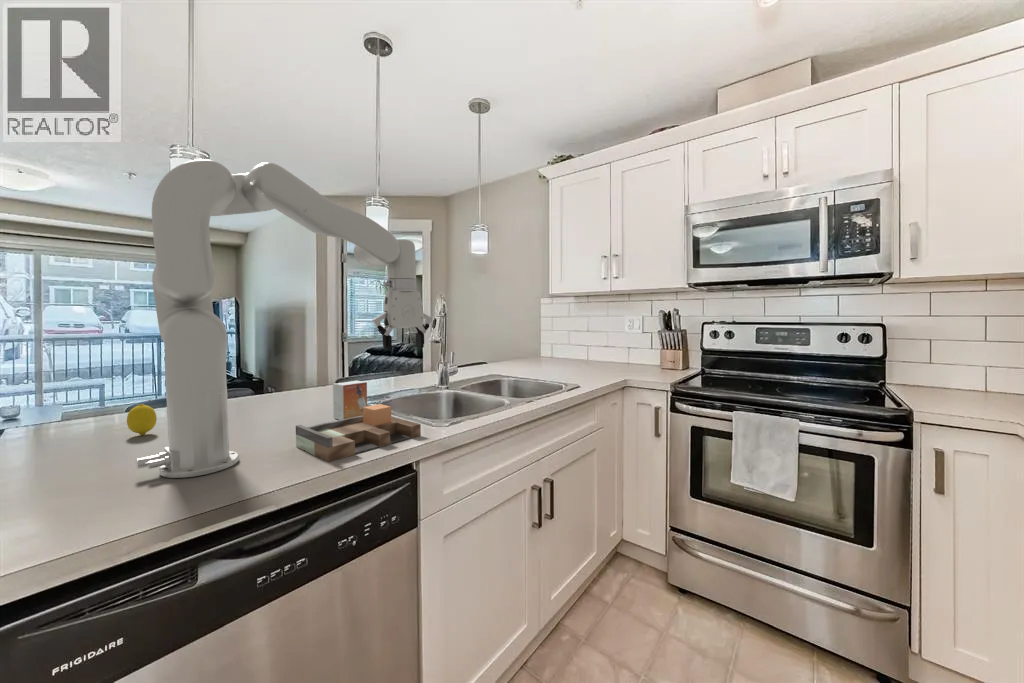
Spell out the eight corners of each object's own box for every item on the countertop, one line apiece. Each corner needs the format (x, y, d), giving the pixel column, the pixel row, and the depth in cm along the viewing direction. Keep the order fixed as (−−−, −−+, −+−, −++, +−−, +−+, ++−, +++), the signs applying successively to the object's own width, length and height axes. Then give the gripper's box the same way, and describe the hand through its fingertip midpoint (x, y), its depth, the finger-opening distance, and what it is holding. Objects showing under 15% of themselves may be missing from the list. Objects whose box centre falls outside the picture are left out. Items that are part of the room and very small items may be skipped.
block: (374, 425, 101) (373, 410, 100) (363, 422, 104) (362, 407, 104) (391, 421, 105) (391, 406, 104) (380, 418, 108) (379, 403, 107)
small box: (343, 421, 116) (342, 385, 116) (332, 418, 120) (332, 383, 119) (368, 416, 123) (367, 381, 122) (357, 413, 126) (356, 379, 125)
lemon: (143, 438, 99) (141, 406, 99) (121, 438, 99) (119, 406, 99) (163, 432, 105) (161, 401, 104) (142, 431, 105) (140, 401, 104)
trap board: (328, 461, 84) (327, 438, 84) (296, 446, 94) (295, 425, 93) (420, 435, 103) (420, 416, 103) (386, 425, 112) (386, 407, 112)
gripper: (378, 284, 102) (380, 352, 103) (436, 286, 113) (438, 347, 115) (365, 286, 107) (368, 350, 109) (422, 287, 119) (424, 345, 120)
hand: (404, 348), depth 112 cm, fingers open, 9 cm apart
